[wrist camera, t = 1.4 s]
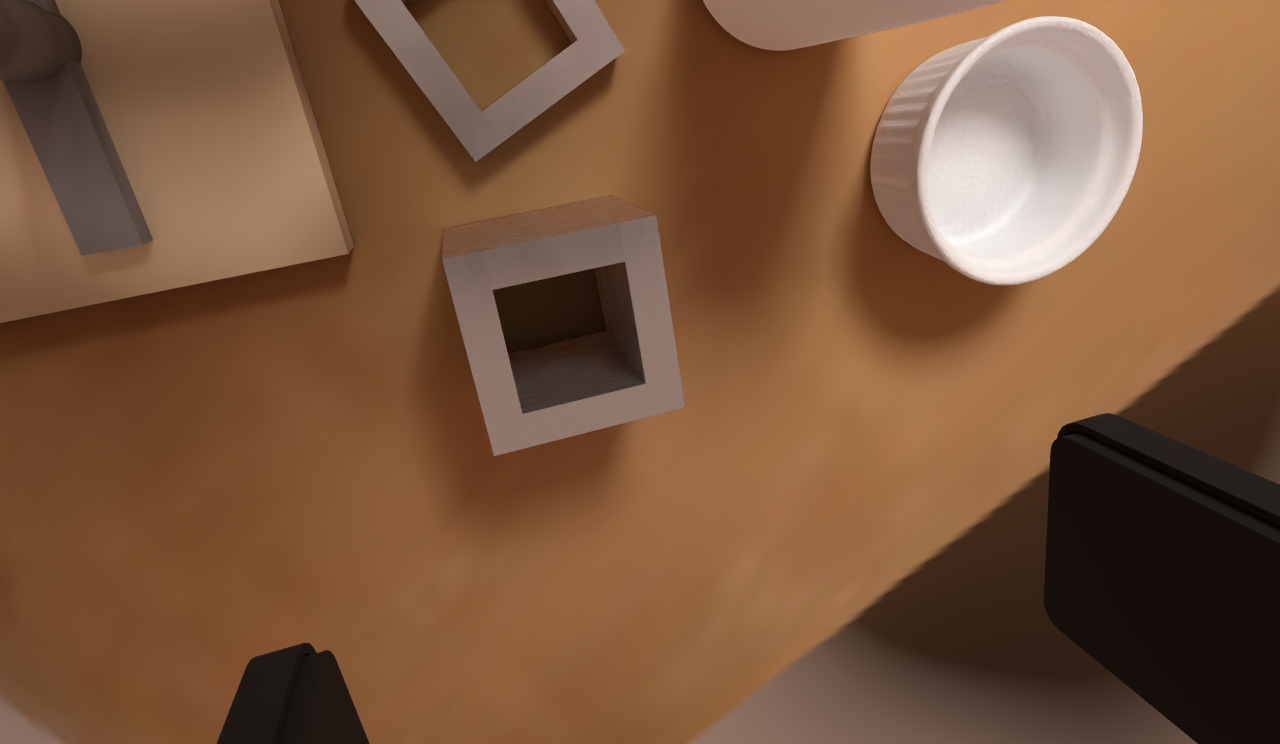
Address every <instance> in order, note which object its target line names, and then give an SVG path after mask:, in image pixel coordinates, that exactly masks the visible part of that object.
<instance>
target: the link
mask: <svg viewBox="0 0 1280 744" xmlns="http://www.w3.org/2000/svg"><path fill="white" fill-rule="evenodd" d="M442 262H443V265H444V269H445V273H446V277H447V280H448V284H449V288H450V292H451V296H452V299H453V303H454V307H455V311H456V314H457V318H458V322H459V326H460V330H461V333H462V337H463V341H464V345H465V348H466V352H467V356H468V360H469V364H470V367H471V371H472V375H473V379H474V382H475V386H476V390H477V394H478V398H479V401H480V405H481V409H482V413H483V416H484V420H485V424H486V428H487V432H488V435H489V439H490V443H491V447H492V450H493V454H494V456H497V455H501V454H505V453H509V452H513V451H517V450H521V449H524V448H528V447H532V446H536V445H540V444H544V443H548V442H552V441H556V440H560V439H564V438H568V437H572V436H576V435H579V434H583V433H587V432H591V431H595V430H599V429H603V428H607V427H611V426H615V425H619V424H623V423H627V422H631V421H634V420H638V419H642V418H646V417H650V416H654V415H658V414H662V413H666V412H670V411H674V410H678V409H682V408H685V403H684V397H683V390H682V383H681V377H680V370H679V363H678V357H677V350H676V343H675V337H674V330H673V323H672V317H671V310H670V303H669V297H668V290H667V283H666V277H665V270H664V263H663V257H662V250H661V243H660V237H659V230H658V224H657V217H656V215H654V214H652V213H650V212H648V211H645V210H643V209H641V208H639V207H637V206H634V205H632V204H630V203H628V202H625V201H623V200H621V199H619V198H617V197H614V196H607V197H602V198H597V199H592V200H587V201H582V202H577V203H572V204H567V205H562V206H557V207H551V208H546V209H541V210H536V211H531V212H526V213H521V214H516V215H511V216H506V217H501V218H496V219H491V220H486V221H480V222H475V223H470V224H465V225H460V226H455V227H450V228H445V229H444V235H443V250H442ZM593 268H595V272H596V277H597V282H598V288H599V293H600V299H601V304H602V309H603V315H604V320H605V325H606V331H604V332H600V333H595V334H591V335H587V336H582V337H578V338H574V339H569V340H565V341H561V342H556V343H552V344H548V345H543V346H539V347H535V348H530V349H526V350H522V351H517V352H513V353H509V354H508V352H507V348H506V344H505V340H504V336H503V332H502V328H501V323H500V319H499V315H498V311H497V307H496V303H495V299H494V295H493V290H495V289H500V288H504V287H509V286H514V285H518V284H523V283H528V282H532V281H537V280H542V279H546V278H551V277H556V276H560V275H565V274H570V273H574V272H579V271H584V270H588V269H593Z"/></svg>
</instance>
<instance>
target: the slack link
mask: <svg viewBox="0 0 1280 744" xmlns="http://www.w3.org/2000/svg"><path fill="white" fill-rule="evenodd" d="M354 1H355V2H356V3H357V5H358V6H359V7H360V9H361V10H362V11H363V13H364V14H365V15H366V17H367V18H368V19H369V21H370V22H371V23H372V25H373V26H374V27H375V29H376V30H377V31H378V33H379V34H380V35H381V37H382V38H383V39H384V41H385V42H386V43H387V45H388V46H389V47H390V49H391V50H392V51H393V53H394V54H395V55H396V57H397V58H398V59H399V61H400V62H401V63H402V65H403V66H404V67H405V69H406V70H407V71H408V73H409V74H410V75H411V77H412V78H413V79H414V81H415V82H416V83H417V85H418V86H419V87H420V89H421V90H422V91H423V93H424V94H425V95H426V97H427V98H428V99H429V101H430V102H431V103H432V105H433V106H434V107H435V109H436V110H437V111H438V113H439V114H440V115H441V117H442V118H443V119H444V121H445V122H446V123H447V125H448V126H449V127H450V129H451V130H452V131H453V133H454V134H455V135H456V137H457V138H458V139H459V141H460V142H461V143H462V145H463V146H464V147H465V148H466V150H467V151H468V152H469V154H470V155H471V156H472V158H473V159H474V160H475V162H477V161H478V160H479V159H481V158H482V157H483V156H485V155H486V154H487V153H489V152H490V151H492V150H493V149H494V148H496V147H497V146H498V145H500V144H501V143H502V142H504V141H505V140H506V139H508V138H509V137H510V136H512V135H513V134H514V133H516V132H517V131H518V130H520V129H521V128H522V127H524V126H525V125H526V124H528V123H529V122H530V121H532V120H533V119H534V118H536V117H537V116H538V115H540V114H541V113H542V112H544V111H545V110H546V109H548V108H549V107H550V106H552V105H553V104H555V103H556V102H557V101H559V100H560V99H561V98H563V97H564V96H565V95H567V94H568V93H569V92H571V91H572V90H573V89H575V88H576V87H577V86H579V85H580V84H581V83H583V82H584V81H585V80H587V79H588V78H589V77H591V76H592V75H593V74H595V73H596V72H597V71H599V70H600V69H601V68H603V67H604V66H605V65H607V64H608V63H609V62H611V61H612V60H613V59H615V58H616V57H617V56H619V55H620V54H622V53H623V52H624V51H625V50H624V48H623V46H622V45H621V43H620V42H619V40H618V38H617V37H616V35H615V33H614V32H613V30H612V28H611V27H610V25H609V23H608V22H607V20H606V19H605V17H604V15H603V14H602V12H601V10H600V9H599V7H598V5H597V4H596V2H595V0H544V1H545V2H546V4H547V5H548V7H549V8H550V10H551V11H552V13H553V15H554V16H555V18H556V19H557V21H558V22H559V24H560V26H561V27H562V29H563V30H564V32H565V33H566V35H567V37H568V38H569V40H570V41H571V43H572V44H571V45H570V46H568V47H567V48H565V49H564V50H563V51H561V52H560V53H559V54H557V55H556V56H555V57H553V58H552V59H551V60H549V61H548V62H547V63H545V64H544V65H543V66H541V67H540V68H539V69H537V70H536V71H535V72H533V73H532V74H531V75H529V76H528V77H527V78H525V79H524V80H523V81H521V82H520V83H519V84H517V85H516V86H515V87H513V88H512V89H511V90H509V91H508V92H506V93H505V94H504V95H502V96H501V97H500V98H498V99H497V100H496V101H494V102H493V103H492V104H490V105H489V106H488V107H486V108H485V109H484V110H482V111H481V110H480V109H479V108H478V106H477V105H476V103H475V102H474V101H473V99H472V98H471V97H470V95H469V94H468V92H467V91H466V90H465V88H464V87H463V86H462V84H461V83H460V81H459V80H458V79H457V77H456V76H455V74H454V73H453V72H452V70H451V69H450V68H449V66H448V65H447V63H446V62H445V61H444V59H443V58H442V56H441V55H440V54H439V52H438V51H437V50H436V48H435V47H434V45H433V44H432V43H431V41H430V40H429V39H428V37H427V36H426V34H425V33H424V32H423V30H422V29H421V27H420V26H419V25H418V23H417V22H416V21H415V19H414V18H413V16H412V15H411V14H410V12H409V11H408V9H407V8H406V7H405V5H404V4H403V3H404V2H406V1H407V0H354Z"/></svg>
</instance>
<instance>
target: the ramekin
mask: <svg viewBox="0 0 1280 744" xmlns="http://www.w3.org/2000/svg"><path fill="white" fill-rule="evenodd" d="M1142 124H1143V113H1142V105H1141V97H1140V92H1139V87H1138V84H1137V81H1136V78H1135V75H1134V72H1133V70H1132V68H1131V66H1130V64H1129V63H1128V60H1127V59H1126V58H1125V56H1124V54H1123V52H1122V51H1121V50H1120V49H1119V47H1118V46H1117V45H1116V44H1115V43H1114V42H1113V41H1112V40H1111V39H1110V38H1109V37H1108V36H1107V35H1105V34H1104V33H1103V32H1102V31H1100V30H1098V29H1097V28H1095V27H1094V26H1092V25H1089V24H1088V23H1085V22H1083V21H1080V20H1077V19H1073V18H1066V17H1057V16H1044V17H1036V18H1031V19H1027V20H1024V21H1021V22H1018V23H1015V24H1013V25H1010V26H1007V27H1005V28H1003V29H1001V30H999V31H997V32H995V33H993V34H991V35H990V36H988V37H985V38H981V39H978V40H974V41H970V42H967V43H964V44H960V45H957V46H954V47H951V48H948V49H946V50H944V51H942V52H941V53H938V54H936V55H934V56H932V57H931V58H929V59H928V60H927V61H925V62H924V63H922V64H920V65H919V66H918V67H917V68H916V69H915V70H914V71H913V72H911V73H910V74H909V75H908V76H907V77H906V78H905V80H904V81H903V82H902V83H901V84H900V85H899V86H898V88H897V89H896V91H895V92H894V94H893V95H892V97H891V98H890V100H889V102H888V104H887V106H886V108H885V110H884V112H883V114H882V117H881V119H880V122H879V124H878V127H877V130H876V133H875V137H874V141H873V146H872V154H871V161H870V175H871V183H872V188H873V193H874V197H875V200H876V203H877V205H878V208H879V210H880V212H881V214H882V216H883V217H884V219H885V221H886V223H887V224H888V225H889V226H890V228H891V229H892V230H893V231H894V232H895V233H896V234H897V235H898V236H899V237H900V238H902V239H903V240H904V241H905V242H907V243H909V244H910V245H912V246H913V247H915V248H916V249H918V250H920V251H922V252H924V253H927V254H929V255H931V256H933V257H935V258H938V259H940V260H942V261H944V262H945V263H946V264H948V265H949V266H950V267H951V268H953V269H954V270H956V271H958V272H959V273H961V274H963V275H965V276H967V277H969V278H971V279H973V280H976V281H979V282H983V283H987V284H991V285H1018V284H1023V283H1027V282H1031V281H1035V280H1037V279H1040V278H1043V277H1045V276H1048V275H1049V274H1051V273H1053V272H1055V271H1057V270H1059V269H1060V268H1062V267H1064V266H1066V265H1067V264H1068V263H1070V262H1071V261H1073V260H1074V259H1075V258H1076V257H1078V256H1079V255H1080V254H1081V253H1083V252H1084V251H1085V250H1086V249H1087V248H1088V247H1089V246H1090V245H1091V244H1092V243H1093V242H1094V241H1095V240H1096V239H1097V238H1098V237H1099V236H1100V234H1101V233H1102V232H1103V231H1104V230H1105V228H1106V227H1107V225H1108V224H1109V222H1110V221H1111V219H1112V218H1113V216H1114V215H1115V214H1116V212H1117V210H1118V208H1119V206H1120V205H1121V203H1122V201H1123V199H1124V197H1125V195H1126V193H1127V191H1128V189H1129V186H1130V184H1131V182H1132V178H1133V176H1134V173H1135V170H1136V165H1137V162H1138V159H1139V154H1140V148H1141V142H1142V133H1143V132H1142V130H1143V129H1142Z"/></svg>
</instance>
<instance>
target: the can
mask: <svg viewBox="0 0 1280 744" xmlns="http://www.w3.org/2000/svg"><path fill="white" fill-rule="evenodd" d="M1000 1H1003V0H703V2H704V4H705V5H706V7H707V9H708V10H709V12H710V13H711V15H712V16H713V17H714V19H715V20H716V21H717V22H718V23H719V24H720V25H721V26H722V27H723V28H724V29H725V30H726V31H727V32H728V33H730V34H731V35H732V36H734V37H735V38H737V39H738V40H740V41H742V42H744V43H746V44H748V45H751V46H754V47H757V48H761V49H766V50H775V51H785V50H793V49H798V48H804V47H809V46H813V45H818V44H823V43H828V42H832V41H837V40H842V39H846V38H851V37H856V36H860V35H865V34H869V33H874V32H878V31H883V30H888V29H892V28H897V27H901V26H906V25H910V24H915V23H919V22H924V21H928V20H932V19H937V18H941V17H946V16H950V15H954V14H958V13H963V12H967V11H971V10H975V9H978V8H982V7H986V6H989V5H992V4H995V3H998V2H1000Z"/></svg>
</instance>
